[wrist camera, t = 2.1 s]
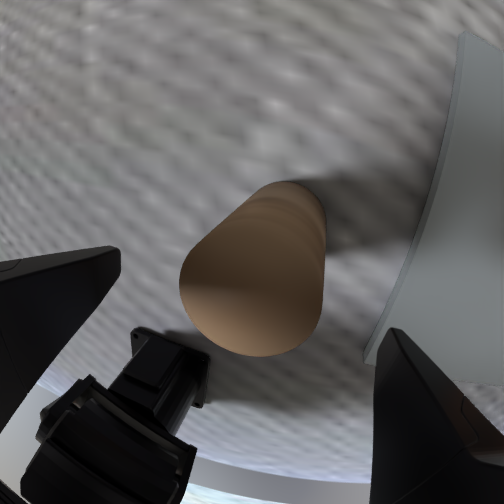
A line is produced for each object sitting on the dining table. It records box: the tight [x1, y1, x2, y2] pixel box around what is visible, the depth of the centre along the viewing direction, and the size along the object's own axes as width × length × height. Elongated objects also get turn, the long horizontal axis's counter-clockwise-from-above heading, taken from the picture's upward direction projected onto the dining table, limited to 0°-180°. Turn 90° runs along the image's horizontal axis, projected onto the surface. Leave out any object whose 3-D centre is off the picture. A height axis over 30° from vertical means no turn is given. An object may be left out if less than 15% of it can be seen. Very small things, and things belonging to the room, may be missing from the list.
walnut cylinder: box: [179, 181, 326, 357], centre depth 13 cm, size 4×4×8 cm
